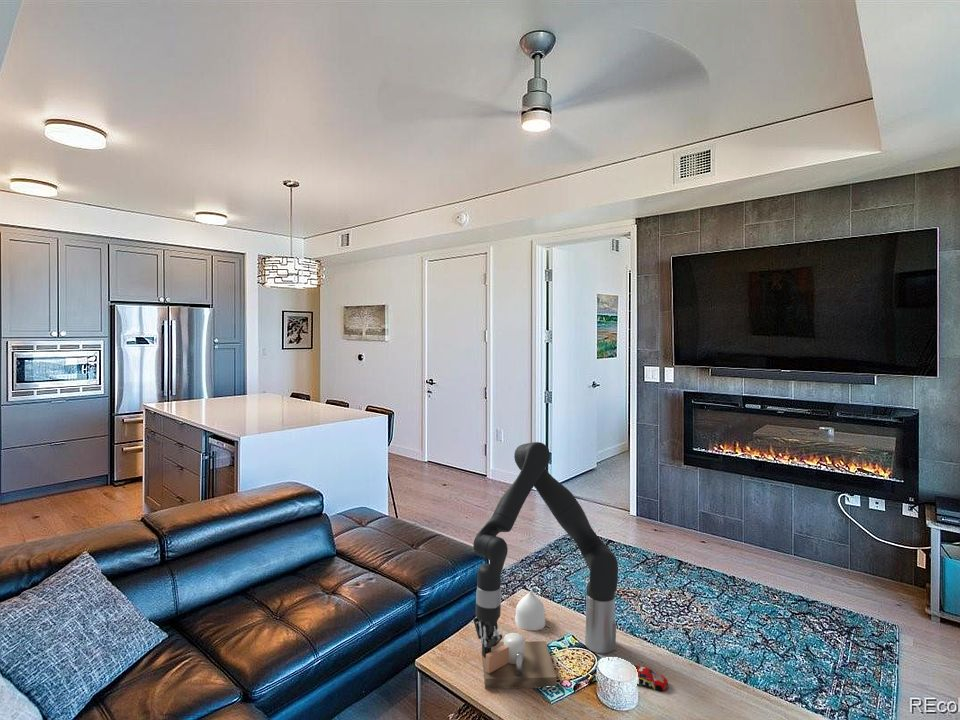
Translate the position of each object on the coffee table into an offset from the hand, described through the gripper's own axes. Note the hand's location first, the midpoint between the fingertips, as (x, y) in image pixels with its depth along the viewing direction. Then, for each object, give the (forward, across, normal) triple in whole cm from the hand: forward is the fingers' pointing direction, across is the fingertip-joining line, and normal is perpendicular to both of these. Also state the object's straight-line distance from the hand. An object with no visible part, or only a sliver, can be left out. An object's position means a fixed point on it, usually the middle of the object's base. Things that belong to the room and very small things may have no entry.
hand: (486, 656), depth 155 cm
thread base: (+6, +2, +10) cm, 12 cm away
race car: (+5, +28, +39) cm, 48 cm away
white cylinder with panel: (+2, +2, +5) cm, 6 cm away
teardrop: (+6, -16, +30) cm, 34 cm away
